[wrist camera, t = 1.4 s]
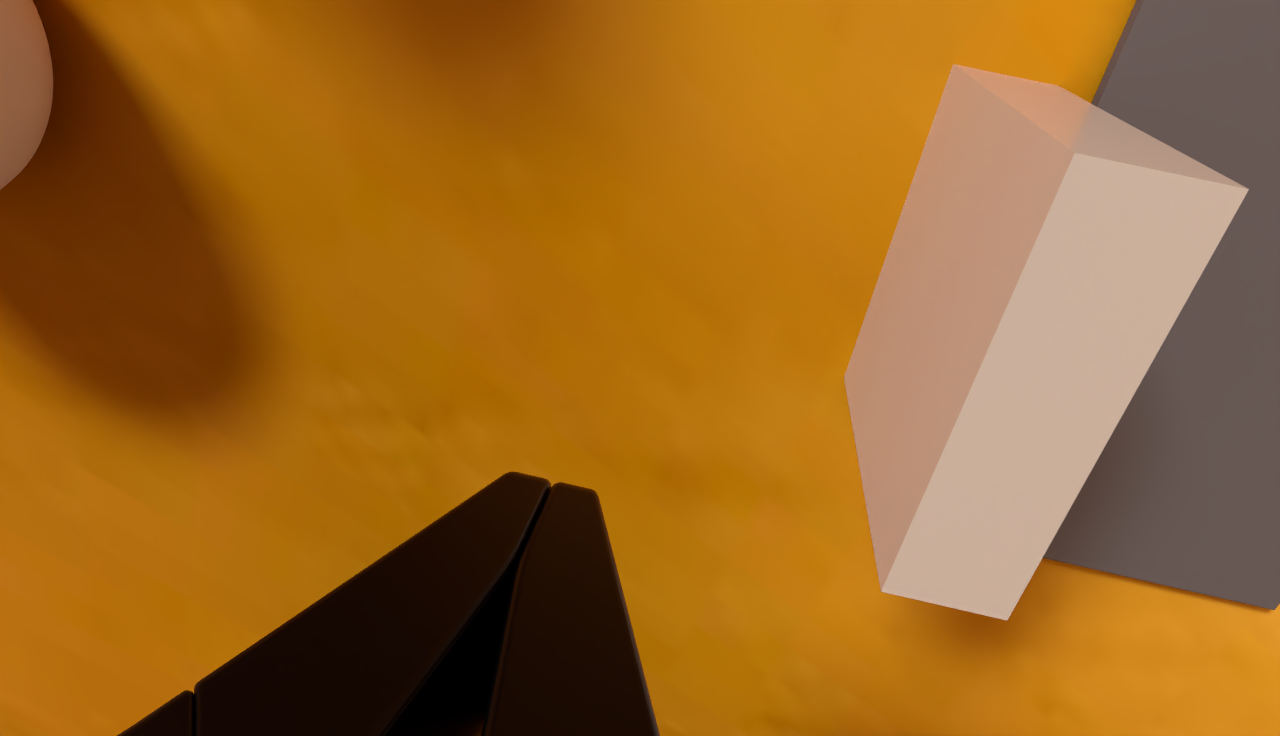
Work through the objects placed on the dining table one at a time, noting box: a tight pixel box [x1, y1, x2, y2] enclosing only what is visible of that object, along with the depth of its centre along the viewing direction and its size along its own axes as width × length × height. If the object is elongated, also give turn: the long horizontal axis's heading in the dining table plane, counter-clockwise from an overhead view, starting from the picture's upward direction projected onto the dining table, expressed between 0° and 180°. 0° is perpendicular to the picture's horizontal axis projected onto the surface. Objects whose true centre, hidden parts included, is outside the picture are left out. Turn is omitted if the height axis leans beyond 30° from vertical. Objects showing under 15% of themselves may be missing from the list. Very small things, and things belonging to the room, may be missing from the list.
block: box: [844, 64, 1249, 620], centre depth 14 cm, size 7×2×7 cm, turn 170°
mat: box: [1043, 0, 1280, 610], centre depth 17 cm, size 14×9×1 cm, turn 170°
